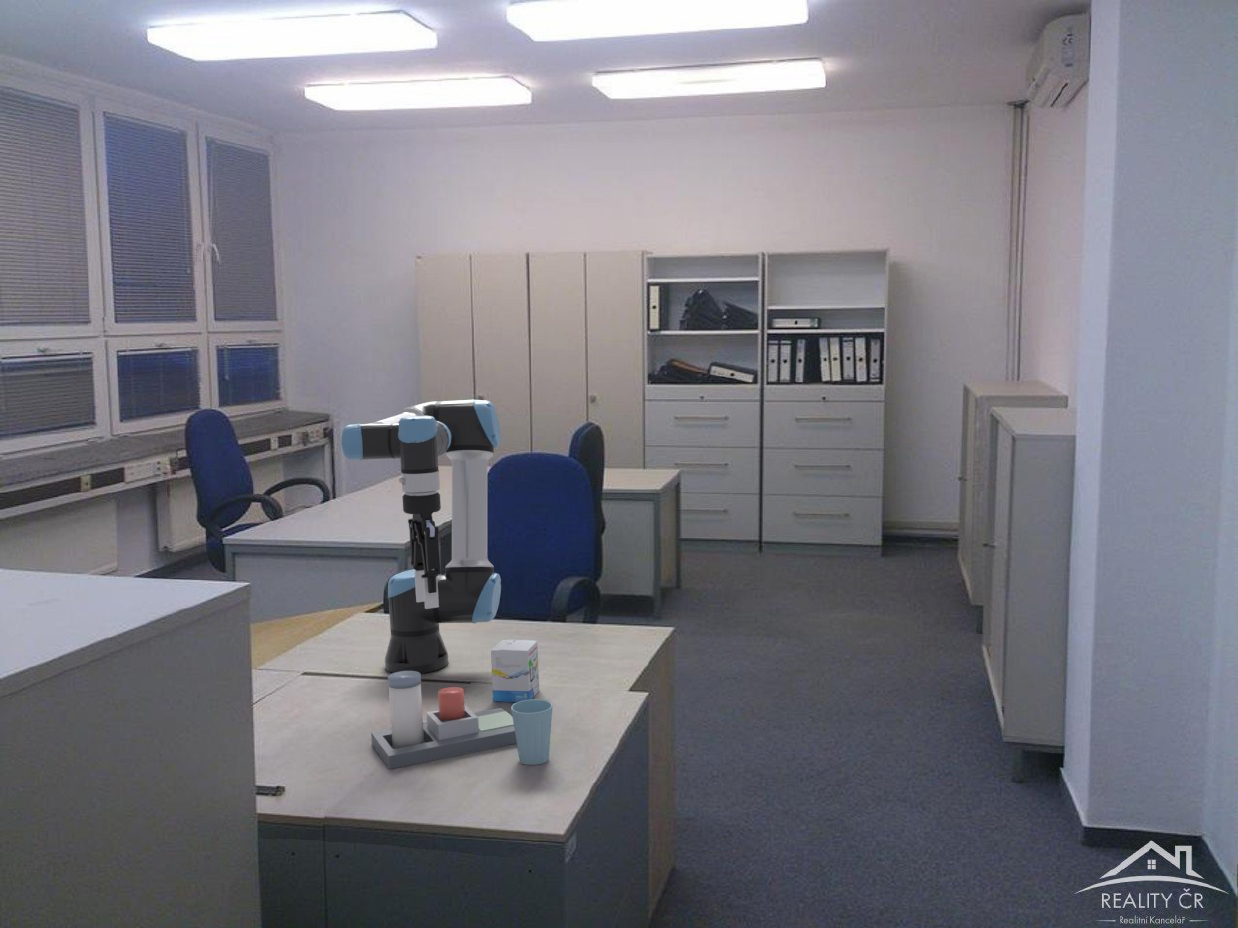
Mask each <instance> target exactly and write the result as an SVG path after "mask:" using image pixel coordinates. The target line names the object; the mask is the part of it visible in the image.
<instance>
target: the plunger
mask: <svg viewBox="0 0 1238 928" xmlns="http://www.w3.org/2000/svg"><path fill="white" fill-rule="evenodd" d="M437 699H438V710H439V718H440V719H442V720H457V719H461V718H463V717H464V716H465V689H464V688H462V687H459V686H451V687H444V688H441V689H439V690H438V691H437Z"/></svg>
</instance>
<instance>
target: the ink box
mask: <svg viewBox="0 0 1238 928" xmlns="http://www.w3.org/2000/svg"><path fill="white" fill-rule="evenodd" d="M538 649H539V647H538V640H531V639H530V640H529V639H501V641H499V642H498V643H497V644H496V645H495V646H494V647H493V648H492V649H491V650H490V654H491V655H490V657H491V677H492V678H491V680H492V681H491V682H492V683H491V684H492V685H491V686H492V701H493V702H506V703H507V702H508V703H509V702H512V703H513V702H514V703H517V702H520V701H524V700H531V699H534V697H535V696H536V695H537V694H538V692H540V675H539V673H540V672H539V651H538Z"/></svg>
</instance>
